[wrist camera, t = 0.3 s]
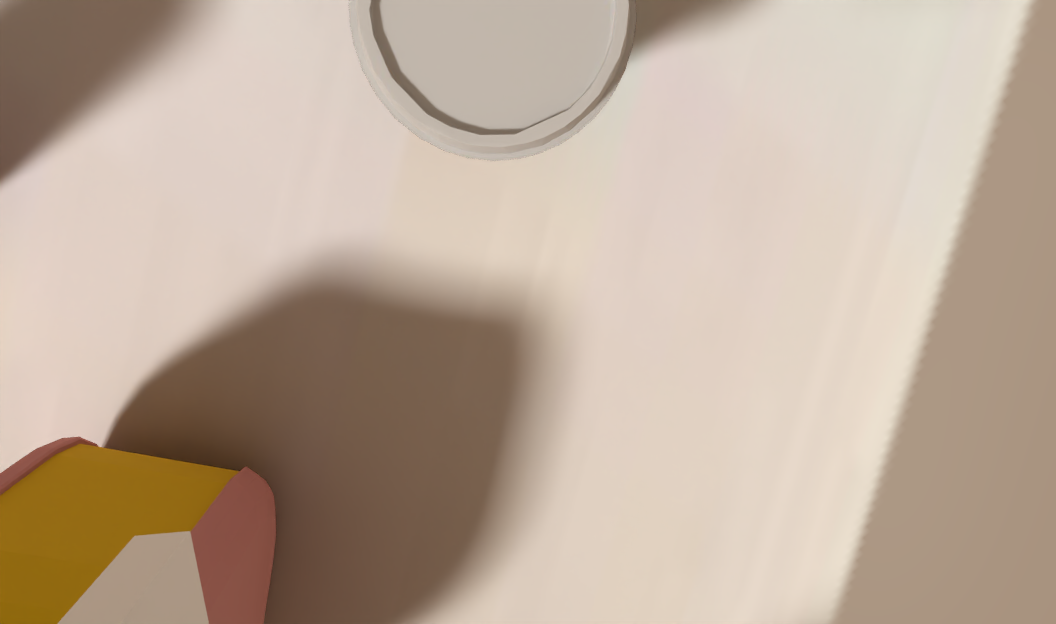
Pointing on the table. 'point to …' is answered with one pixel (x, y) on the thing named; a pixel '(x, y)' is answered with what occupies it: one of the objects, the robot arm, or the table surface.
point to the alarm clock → (128, 527)
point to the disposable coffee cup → (493, 68)
